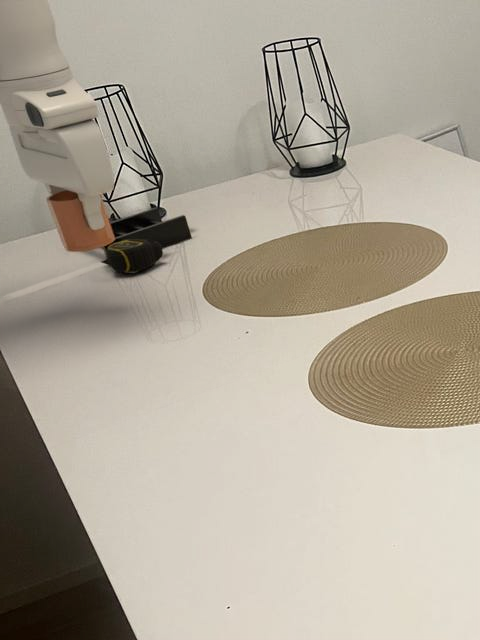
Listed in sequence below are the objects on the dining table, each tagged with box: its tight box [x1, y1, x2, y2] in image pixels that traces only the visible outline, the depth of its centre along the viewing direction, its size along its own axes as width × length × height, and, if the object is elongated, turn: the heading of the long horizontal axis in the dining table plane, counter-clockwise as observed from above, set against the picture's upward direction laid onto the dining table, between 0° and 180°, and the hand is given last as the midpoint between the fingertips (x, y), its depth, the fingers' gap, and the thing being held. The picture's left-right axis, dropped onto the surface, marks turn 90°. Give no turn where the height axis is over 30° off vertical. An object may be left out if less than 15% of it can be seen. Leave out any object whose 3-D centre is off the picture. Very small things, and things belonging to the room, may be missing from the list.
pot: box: [46, 190, 115, 253], centre depth 121 cm, size 6×6×6 cm
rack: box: [100, 207, 193, 266], centre depth 149 cm, size 14×10×3 cm
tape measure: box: [106, 239, 164, 274], centre depth 140 cm, size 7×7×4 cm
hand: (83, 223), depth 121 cm, fingers closed on pot, 6 cm apart
